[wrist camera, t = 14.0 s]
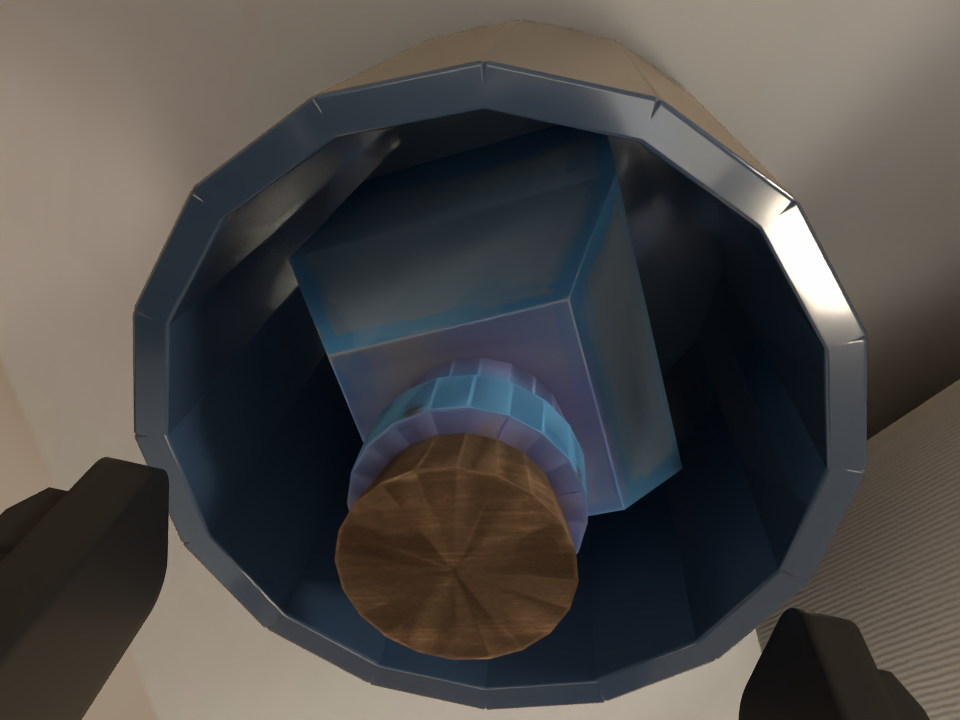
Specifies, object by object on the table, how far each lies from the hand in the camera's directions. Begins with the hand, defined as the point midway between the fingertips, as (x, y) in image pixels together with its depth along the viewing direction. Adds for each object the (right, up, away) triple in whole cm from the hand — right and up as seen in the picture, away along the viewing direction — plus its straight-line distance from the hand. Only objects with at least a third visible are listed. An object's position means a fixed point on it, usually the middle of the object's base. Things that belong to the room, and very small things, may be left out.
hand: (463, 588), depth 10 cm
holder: (+1, +6, +11) cm, 13 cm away
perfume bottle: (+1, +6, +11) cm, 12 cm away
